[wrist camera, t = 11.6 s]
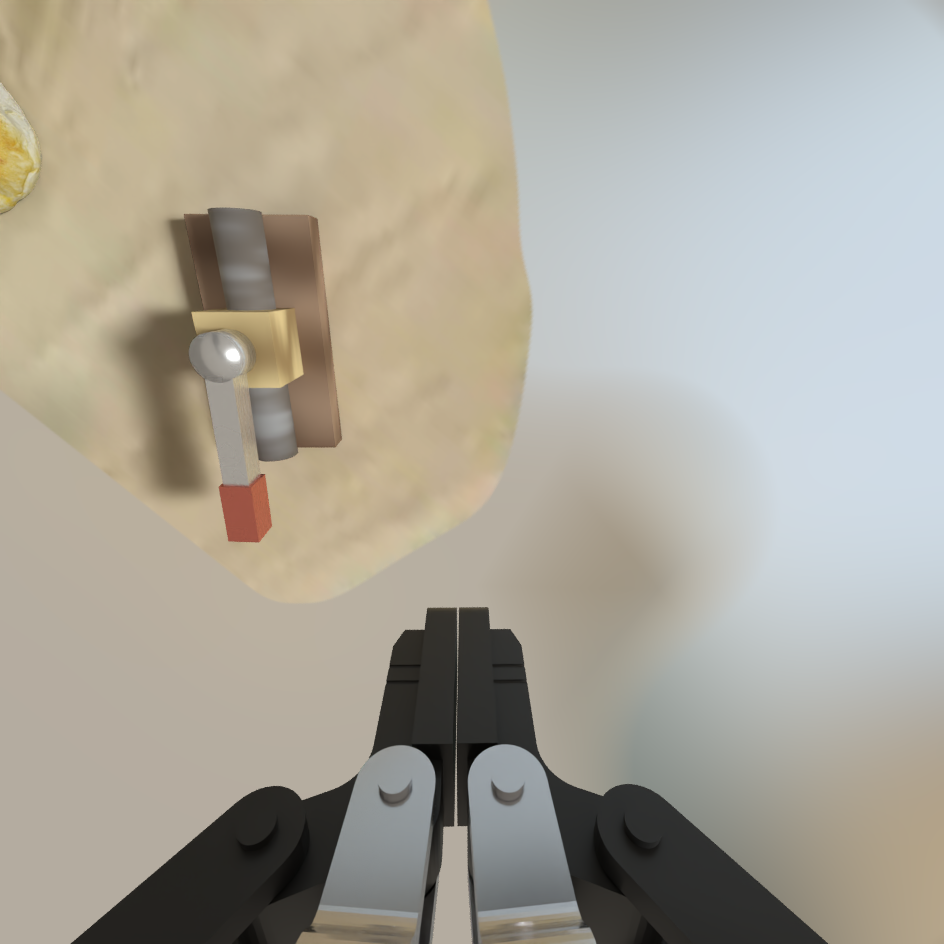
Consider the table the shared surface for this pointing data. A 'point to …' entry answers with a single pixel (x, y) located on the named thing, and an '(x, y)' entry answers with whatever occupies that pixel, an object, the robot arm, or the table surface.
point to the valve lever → (234, 430)
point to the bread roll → (16, 153)
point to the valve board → (287, 291)
